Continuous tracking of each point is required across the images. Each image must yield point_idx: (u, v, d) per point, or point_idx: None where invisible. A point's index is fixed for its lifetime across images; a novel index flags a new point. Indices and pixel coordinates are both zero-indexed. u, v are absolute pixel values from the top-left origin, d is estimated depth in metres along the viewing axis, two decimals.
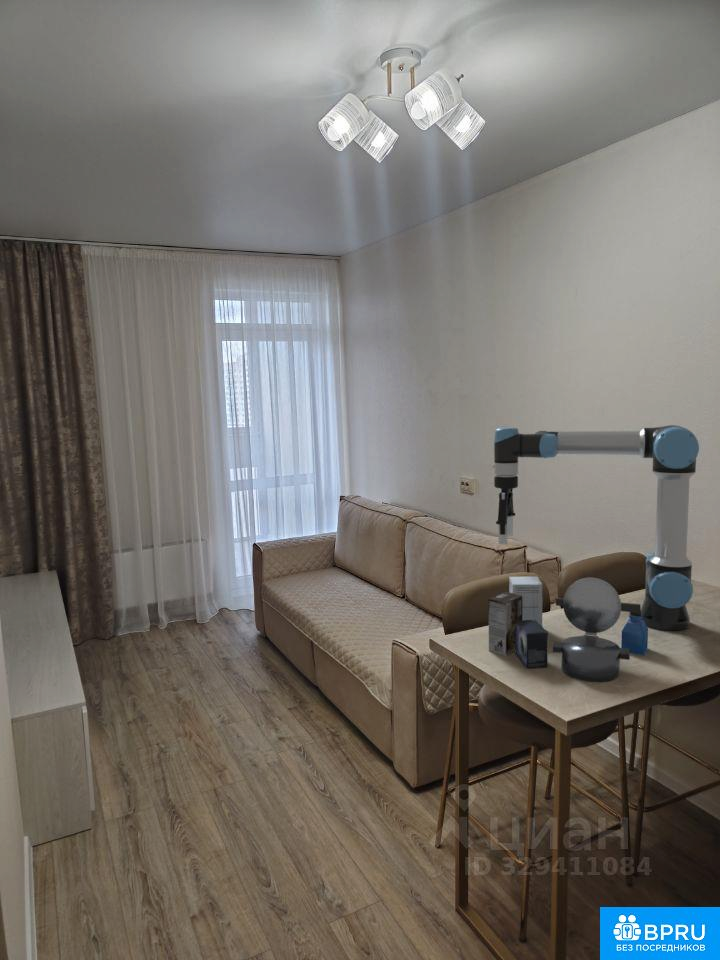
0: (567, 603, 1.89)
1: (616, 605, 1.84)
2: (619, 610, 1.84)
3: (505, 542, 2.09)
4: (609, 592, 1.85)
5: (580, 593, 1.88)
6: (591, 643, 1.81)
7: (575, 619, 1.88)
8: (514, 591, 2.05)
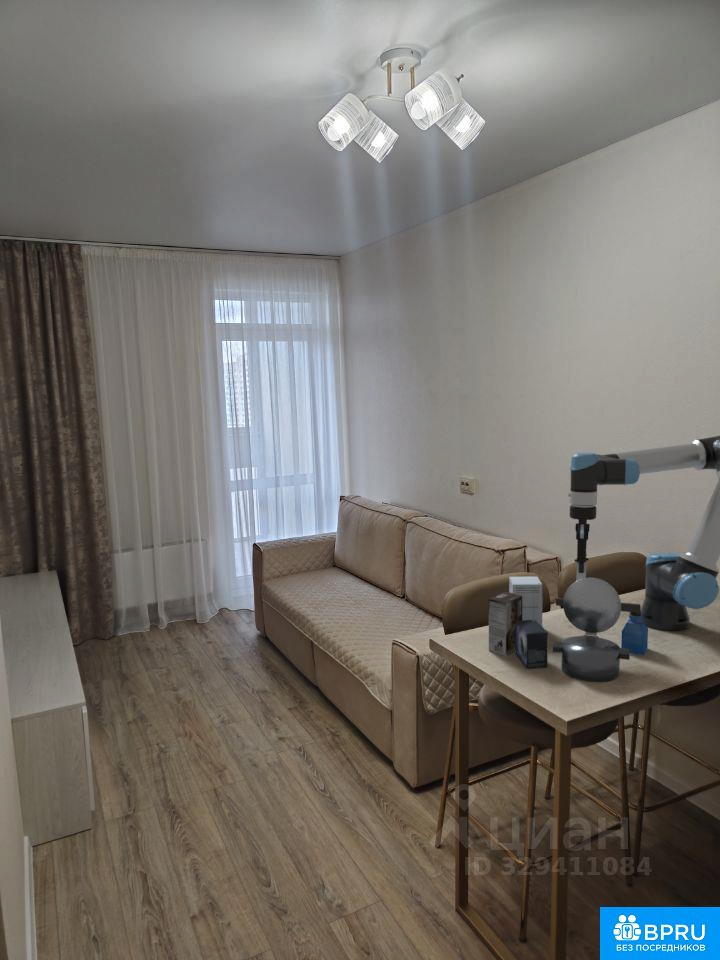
0: (567, 603, 1.89)
1: (616, 605, 1.84)
2: (619, 610, 1.84)
3: None
4: (609, 592, 1.85)
5: (580, 593, 1.88)
6: (591, 643, 1.81)
7: (575, 619, 1.88)
8: (514, 591, 2.05)
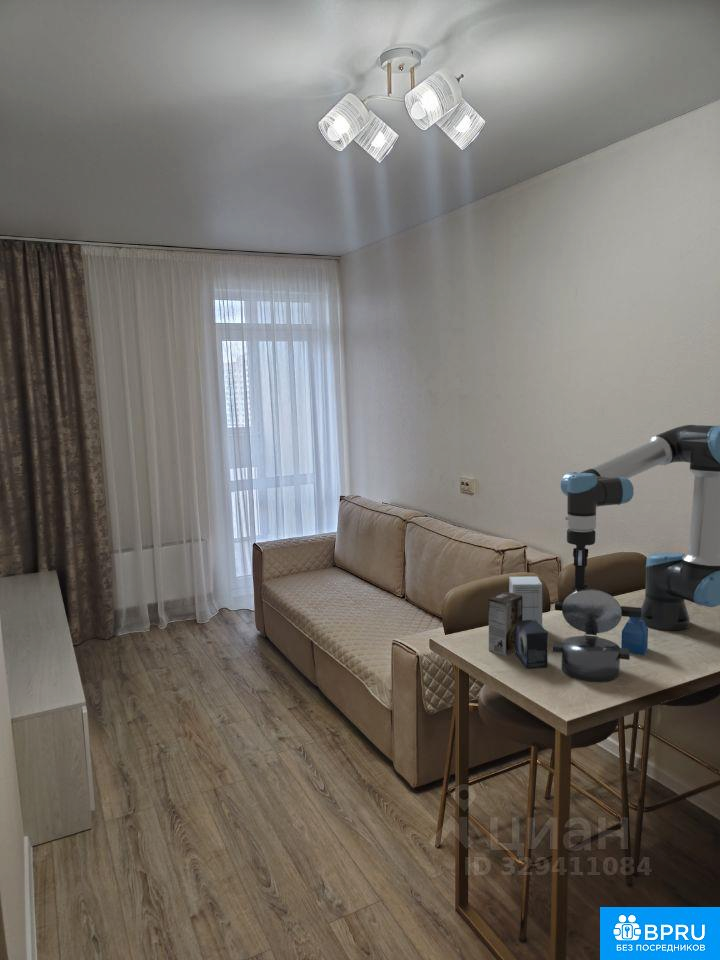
0: (566, 610, 1.85)
1: (616, 613, 1.80)
2: (619, 617, 1.80)
3: None
4: (609, 603, 1.79)
5: (579, 603, 1.82)
6: (591, 643, 1.81)
7: (575, 622, 1.86)
8: (514, 591, 2.05)
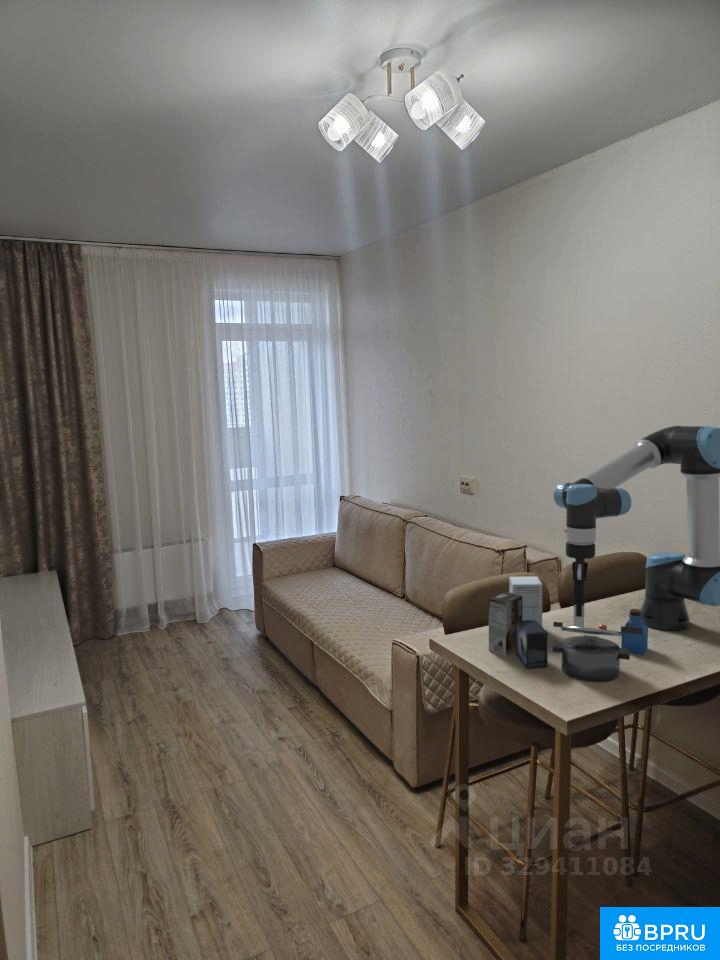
0: (565, 630, 1.81)
1: None
2: (619, 635, 1.77)
3: (581, 625, 1.78)
4: (609, 633, 1.74)
5: None
6: (591, 643, 1.81)
7: None
8: (514, 591, 2.05)
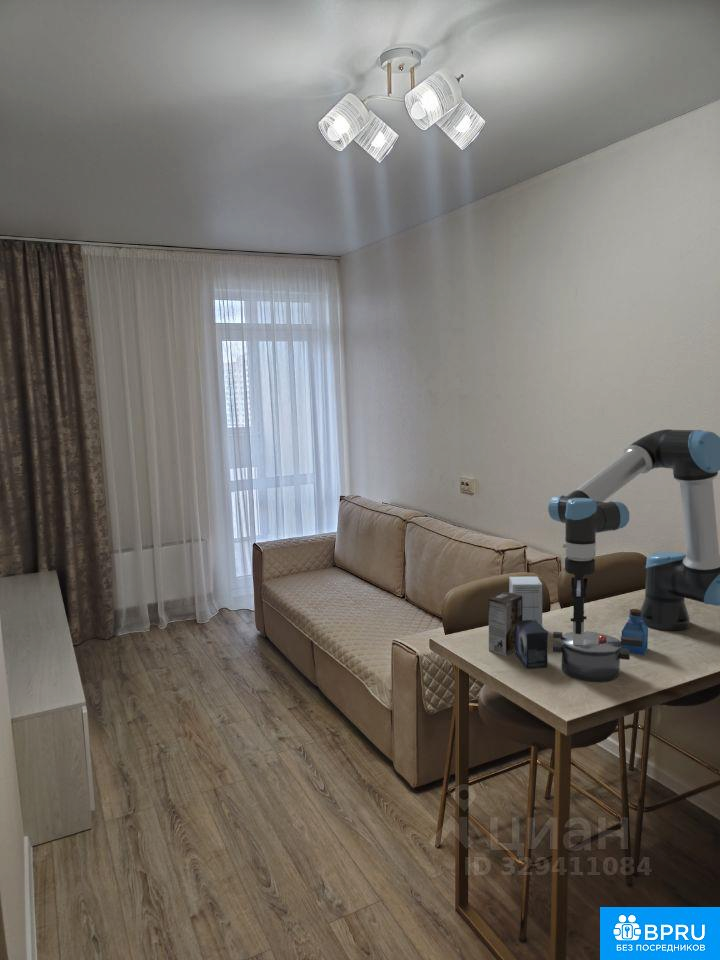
0: None
1: None
2: None
3: (581, 643, 1.74)
4: None
5: None
6: None
7: None
8: (514, 591, 2.05)
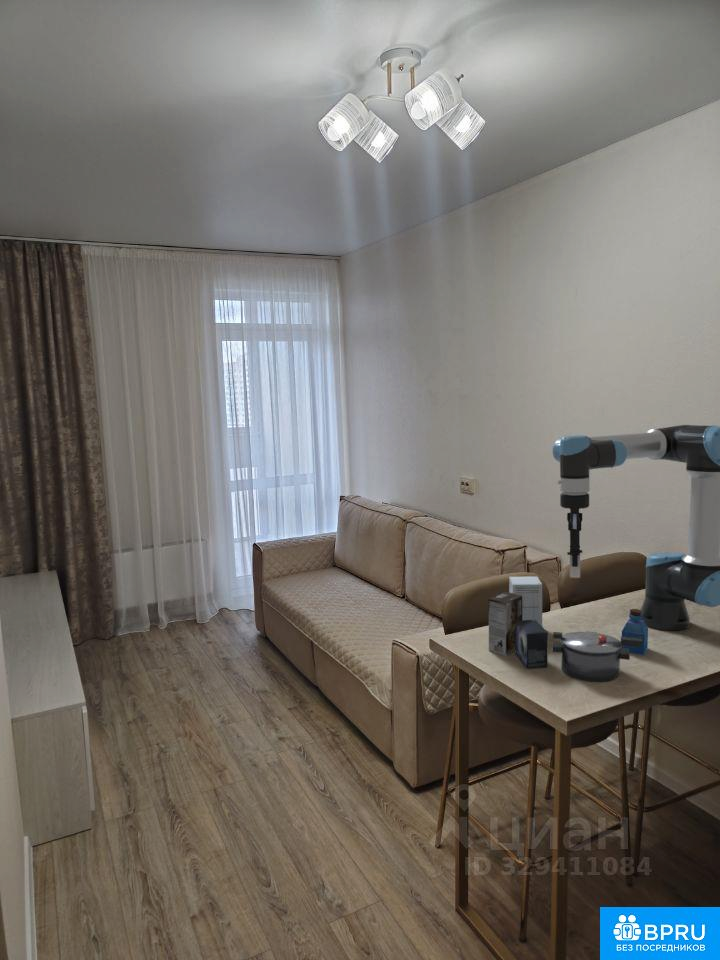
0: None
1: None
2: None
3: (578, 575, 1.81)
4: None
5: None
6: None
7: None
8: (514, 591, 2.05)
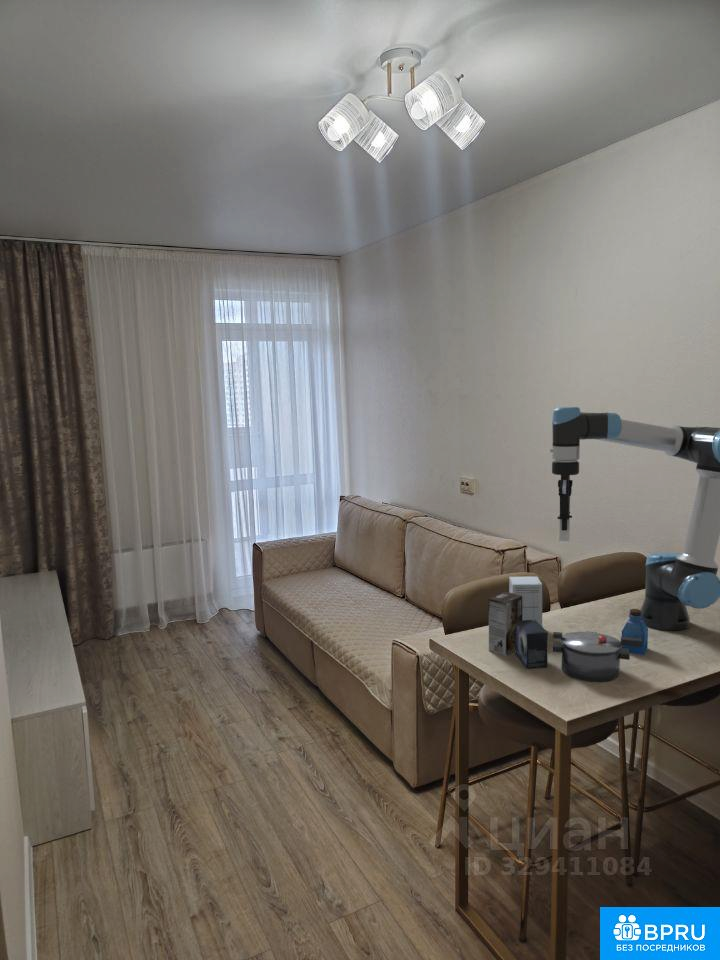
0: None
1: None
2: None
3: (567, 538, 1.92)
4: None
5: None
6: None
7: None
8: (514, 591, 2.05)
